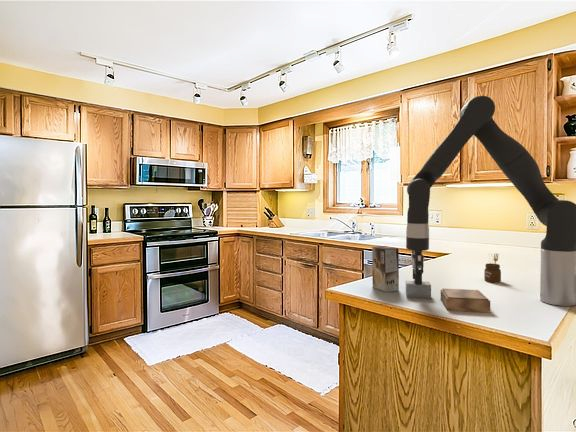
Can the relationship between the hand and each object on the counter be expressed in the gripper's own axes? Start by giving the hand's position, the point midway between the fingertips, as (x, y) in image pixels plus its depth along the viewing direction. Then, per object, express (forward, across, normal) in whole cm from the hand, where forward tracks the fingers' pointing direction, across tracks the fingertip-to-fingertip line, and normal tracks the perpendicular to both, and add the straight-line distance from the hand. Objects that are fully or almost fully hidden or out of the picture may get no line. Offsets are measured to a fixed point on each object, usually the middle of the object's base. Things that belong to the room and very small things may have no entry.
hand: (417, 281), depth 125 cm
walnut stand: (+5, -9, -13) cm, 17 cm away
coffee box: (+6, +9, +11) cm, 15 cm away
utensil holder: (+5, +30, -32) cm, 44 cm away
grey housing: (+5, 0, 0) cm, 5 cm away
